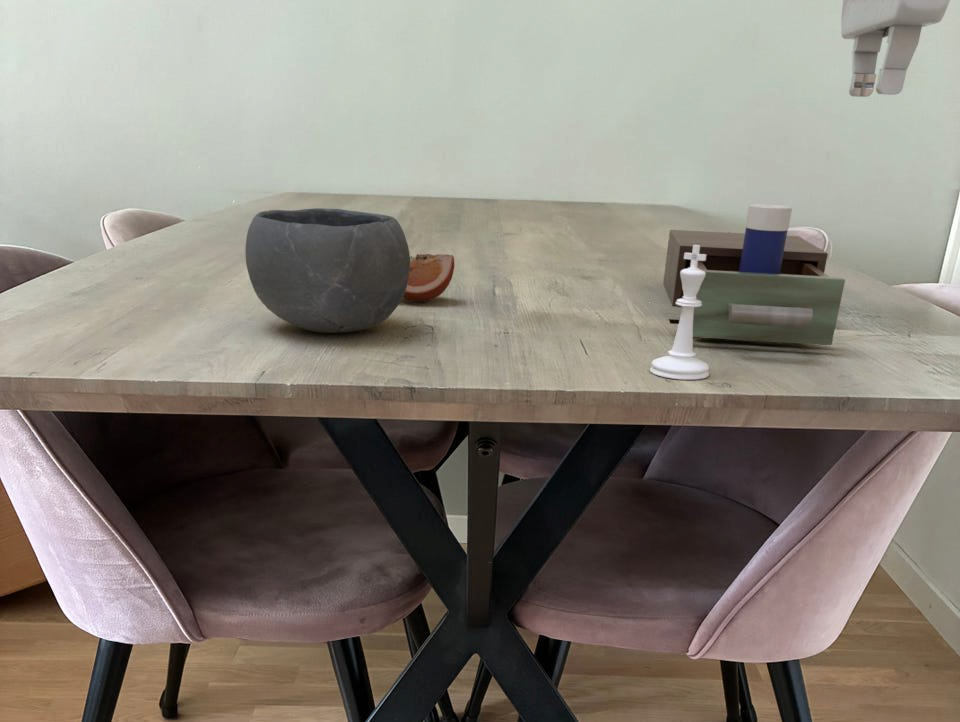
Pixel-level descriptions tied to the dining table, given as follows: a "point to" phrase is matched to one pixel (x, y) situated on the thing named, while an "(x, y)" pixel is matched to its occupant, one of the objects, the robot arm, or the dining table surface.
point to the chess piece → (685, 328)
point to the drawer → (767, 303)
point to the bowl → (328, 267)
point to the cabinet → (724, 254)
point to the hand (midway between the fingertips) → (873, 95)
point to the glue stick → (765, 238)
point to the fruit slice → (428, 276)
